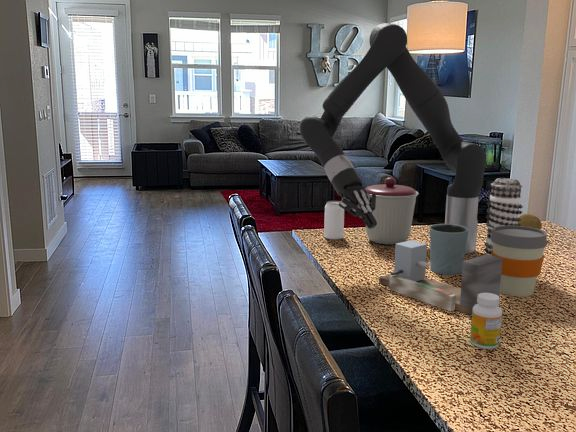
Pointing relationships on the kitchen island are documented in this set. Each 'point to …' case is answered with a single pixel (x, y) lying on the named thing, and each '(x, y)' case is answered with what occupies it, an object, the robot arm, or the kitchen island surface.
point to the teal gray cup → (447, 248)
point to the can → (333, 221)
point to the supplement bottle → (486, 321)
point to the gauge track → (475, 279)
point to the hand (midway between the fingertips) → (373, 226)
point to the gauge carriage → (410, 260)
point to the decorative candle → (502, 207)
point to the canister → (392, 212)
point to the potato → (530, 221)
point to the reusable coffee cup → (519, 257)
